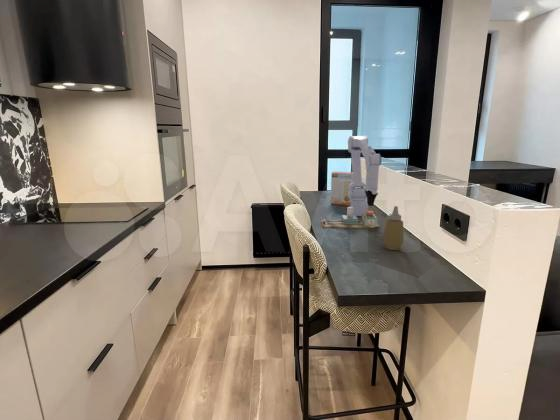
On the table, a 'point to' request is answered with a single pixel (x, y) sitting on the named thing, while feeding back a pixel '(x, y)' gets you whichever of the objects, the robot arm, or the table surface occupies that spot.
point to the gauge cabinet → (369, 220)
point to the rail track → (341, 224)
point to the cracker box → (341, 188)
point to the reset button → (369, 213)
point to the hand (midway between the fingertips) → (370, 205)
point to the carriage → (350, 217)
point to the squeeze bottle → (394, 231)
